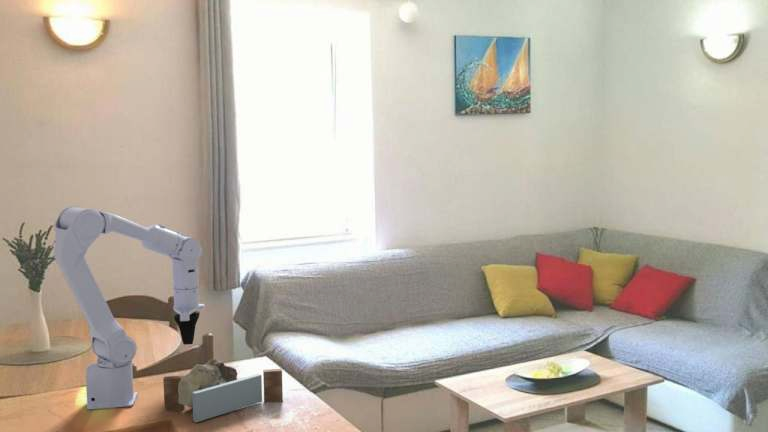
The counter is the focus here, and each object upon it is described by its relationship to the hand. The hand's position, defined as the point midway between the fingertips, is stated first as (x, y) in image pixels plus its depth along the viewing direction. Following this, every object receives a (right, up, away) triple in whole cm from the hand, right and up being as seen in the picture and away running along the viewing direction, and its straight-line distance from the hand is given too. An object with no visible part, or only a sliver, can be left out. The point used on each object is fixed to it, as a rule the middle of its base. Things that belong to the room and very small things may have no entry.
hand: (188, 343), depth 170 cm
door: (+14, -11, -18) cm, 25 cm away
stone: (+11, -6, -19) cm, 23 cm away
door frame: (+12, -11, -14) cm, 21 cm away
